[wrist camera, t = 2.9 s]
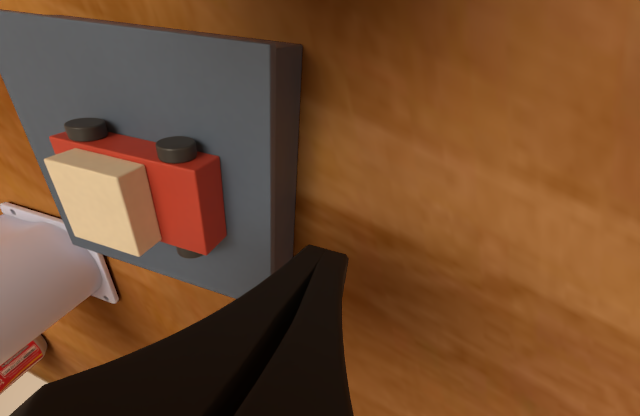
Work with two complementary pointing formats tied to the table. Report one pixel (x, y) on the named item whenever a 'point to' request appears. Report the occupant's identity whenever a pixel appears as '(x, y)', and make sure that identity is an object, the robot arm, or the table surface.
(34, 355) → the soda can
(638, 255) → the table surface
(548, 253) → the table surface
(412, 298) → the table surface
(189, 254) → the wooden car
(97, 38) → the step
